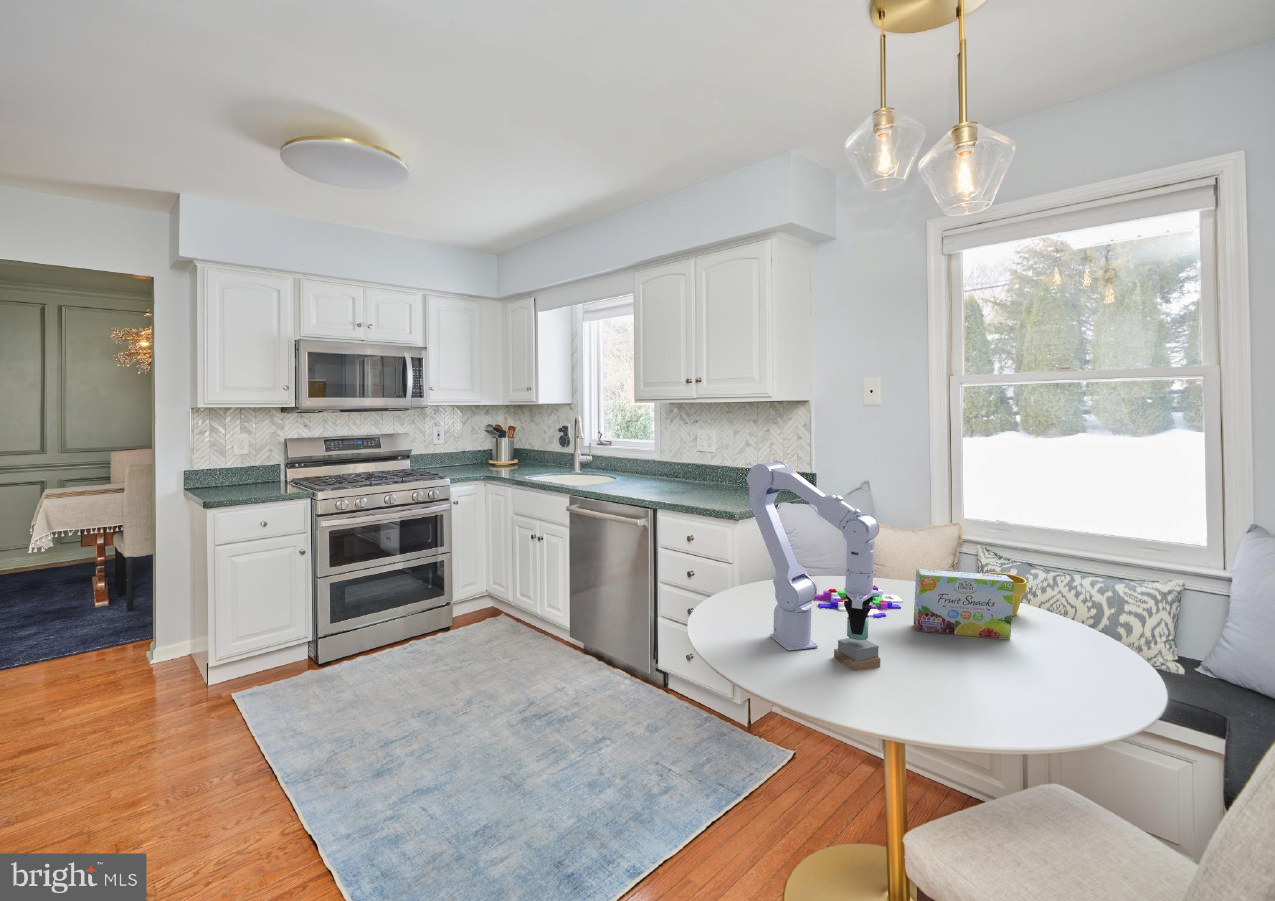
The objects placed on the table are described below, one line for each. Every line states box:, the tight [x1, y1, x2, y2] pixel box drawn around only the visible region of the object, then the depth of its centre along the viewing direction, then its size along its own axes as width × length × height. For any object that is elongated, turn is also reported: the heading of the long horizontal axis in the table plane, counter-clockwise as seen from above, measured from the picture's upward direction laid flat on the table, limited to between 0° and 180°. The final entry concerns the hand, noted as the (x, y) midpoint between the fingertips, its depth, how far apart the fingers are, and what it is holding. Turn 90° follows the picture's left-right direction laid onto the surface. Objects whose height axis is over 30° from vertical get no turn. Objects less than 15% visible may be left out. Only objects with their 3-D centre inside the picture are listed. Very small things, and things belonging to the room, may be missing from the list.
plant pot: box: [985, 572, 1028, 617], centre depth 169 cm, size 10×10×10 cm
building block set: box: [813, 584, 904, 619], centre depth 175 cm, size 25×20×4 cm
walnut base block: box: [833, 648, 881, 671], centre depth 137 cm, size 7×7×2 cm
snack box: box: [913, 568, 1014, 641], centre depth 154 cm, size 21×6×15 cm, turn 76°
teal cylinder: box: [846, 616, 869, 640], centre depth 136 cm, size 4×4×4 cm
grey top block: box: [837, 637, 879, 661], centre depth 137 cm, size 6×6×2 cm
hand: (857, 630), depth 136 cm, fingers closed on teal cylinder, 4 cm apart
